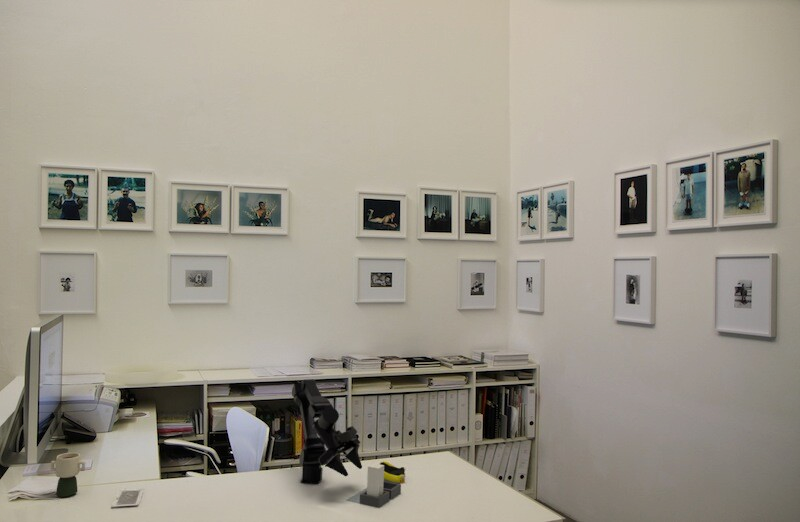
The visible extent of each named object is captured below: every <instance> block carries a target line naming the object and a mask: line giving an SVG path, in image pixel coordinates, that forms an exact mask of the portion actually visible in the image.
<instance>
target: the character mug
mask: <svg viewBox="0 0 800 522" xmlns="http://www.w3.org/2000/svg"><path fill="white" fill-rule="evenodd" d="M85 469H86V462H85V461H84V460H81V454H80V453H79V452H65V453H60V454H58V455H57V456H56V458H55V460H51V462H50V471H52V472H55V476H56V477H57V478H58V480H57V485H56V491H55V495H56V496H58V497H62V498H64V497H69V496H72V495H74V494H77V493H78V482H77V475H78V474H80V472H85Z"/></svg>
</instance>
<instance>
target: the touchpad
mask: <svg viewBox="0 0 800 522" xmlns="http://www.w3.org/2000/svg"><path fill="white" fill-rule="evenodd" d="M144 491H145V488H136V489H135V488H134V489H130V488H129V489H119V490H118V492H117V494H116V496H115V498H114V501H113V503H112V505H111V507H112V508H114V507H115V508H116V507H128V506H139V504H140V502H141V499H142V497H143V494H144Z"/></svg>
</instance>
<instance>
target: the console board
mask: <svg viewBox="0 0 800 522" xmlns="http://www.w3.org/2000/svg"><path fill="white" fill-rule="evenodd" d="M401 494H402V484H396V483H391V482H386V481H384V485H383V495H381V496H380V497H374V496H370V495H367V487H366V488H364V489H362V490H361V491H359V492H357V493H356V494H353V495H352V496H351V497H349V498H347V499H345V501H346V502H350V503H355V504H359V505H364V506H368V507H371V508H378V509H380V508H382V507H384V506H385V505H386V504H388V503H390V502H391V501H392V500H394V499H395V498H396V497H398V496H399V495H401Z"/></svg>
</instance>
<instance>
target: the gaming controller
mask: <svg viewBox="0 0 800 522" xmlns="http://www.w3.org/2000/svg"><path fill="white" fill-rule="evenodd" d="M379 464H380V465H384V481H386V482H391V483H396V484H401V485H402V484H404V483H405V482H406V473H405V471H406V469H407V468H406V467H404V466H402V467H397V466H395V465H393V464H392V463H390V462H388V461H383V460H382V461H380V463H379Z"/></svg>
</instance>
